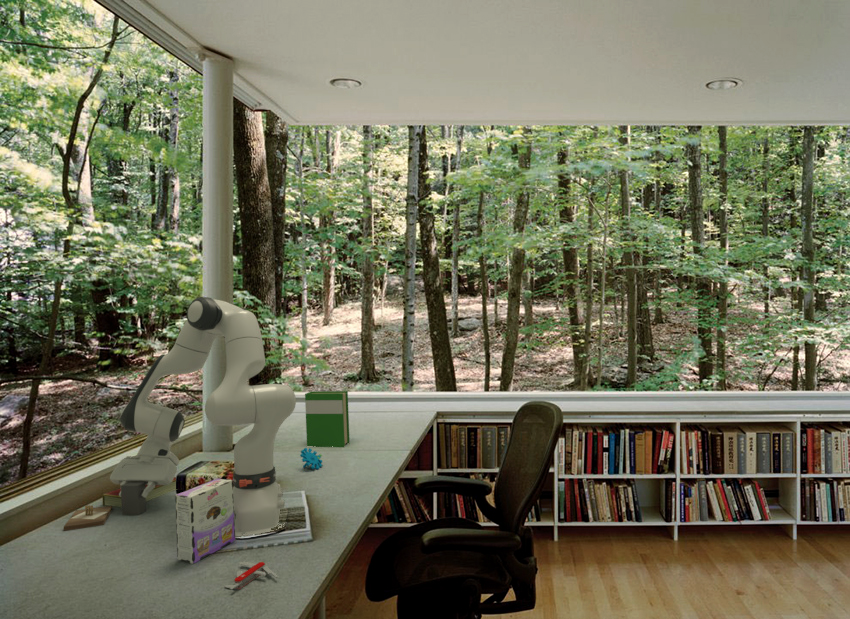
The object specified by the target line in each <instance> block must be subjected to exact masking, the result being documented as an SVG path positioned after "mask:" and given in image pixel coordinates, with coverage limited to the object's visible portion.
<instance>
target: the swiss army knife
mask: <svg viewBox="0 0 850 619" xmlns="http://www.w3.org/2000/svg"><path fill="white" fill-rule="evenodd" d="M239 564H240V565H243V566H247V567H248V568H249V569H248V570H246V571H243V570H238V571H237V572H236V577H235V579H234V582H233V584H224V585H223V587H224V588H227V589H230V590H233V589H234V590H235V589H236V590H241V589H242V588H244V587H245V586H246V585H248V584H249V583H251V582H252V581H253V580H255V579H256V578H258V577H259V576H260V575H261V576H264V577H265V576H267V574H268V575H272V576H274V577H275V578H278V577H279V576H278V575H277V574H276V573H275V572H273V570H272V569H271V568H269V567H268V566H267V565H266V563H265V562H264V561H259V562H258V563H253V562H247V561H239V562H238V565H239Z"/></svg>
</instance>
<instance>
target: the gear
mask: <svg viewBox="0 0 850 619" xmlns="http://www.w3.org/2000/svg"><path fill="white" fill-rule="evenodd" d="M312 451H313V449H312V448H311V447H304V448H303V449H301V451H300V455H299V456H300V458H302V459H301V461H302V463H304V464H303V466H302V467H303V468H304V469H305V468H306V467H309V466H310V465H311V466H310V468H311V469H312V470H314V469H315V470H319V469H320V468H321V467H322V466H323V464H322V463H323V460H322V459H321V457H322V456H323V455H322V454H321V453H320V454H317V453H318V452H317V451H316V450H314V451H313V452H312Z"/></svg>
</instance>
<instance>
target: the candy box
mask: <svg viewBox="0 0 850 619" xmlns="http://www.w3.org/2000/svg"><path fill="white" fill-rule="evenodd" d="M233 487H234V485H233V479H228V478H227V479H226V478H218V477H217V478H215V479H212V480H210V481H207V482H205V483H202V484H200V485H197V486H195V487H192V488H190V489H187V490H184V491H183V492H180V493H177V494H175V498H174V499H175V520H176V521H175V523H176V524H175V525H176V552H177V553H176V554H177V560H178V561H180V562H184V563H188V564H191V565H194V564H195V563H197V562H199V561H201V560H202V559H205V558H206V557H208V556H210V555H212V554H214V553H215V552H217V551H219V550H221V549H223V548H225V547H226V546H228V545H230V544H232V543H234V542H235V541H236V539H235V523H234V502H233ZM234 540H235V541H234ZM233 541H234V542H233Z"/></svg>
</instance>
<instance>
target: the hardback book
mask: <svg viewBox="0 0 850 619" xmlns="http://www.w3.org/2000/svg"><path fill="white" fill-rule="evenodd" d="M304 401H305V402H304V403H305V405H304V407H305V427H306V428H305V430H306V433H305V434H306V447H307V446H313V447H312V448H345V447H346V446H345V445H346V443H349V442H350V422H349V421H350V419H349V392H348V390H332V391H331V390H328V391H327V390H320V391H318V390H313V391H309V392H307V393H305V394H304ZM349 444H350V443H349ZM314 446H316V447H314ZM332 446H333V447H332ZM344 446H345V447H344Z"/></svg>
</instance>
